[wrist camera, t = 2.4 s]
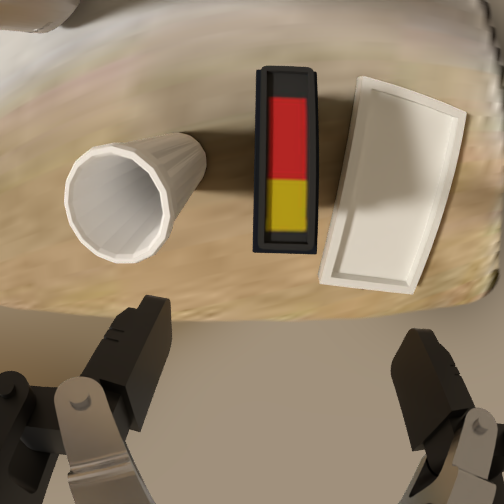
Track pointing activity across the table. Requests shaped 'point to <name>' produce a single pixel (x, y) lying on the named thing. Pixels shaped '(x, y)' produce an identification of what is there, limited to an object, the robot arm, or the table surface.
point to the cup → (132, 194)
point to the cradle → (391, 188)
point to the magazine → (286, 161)
